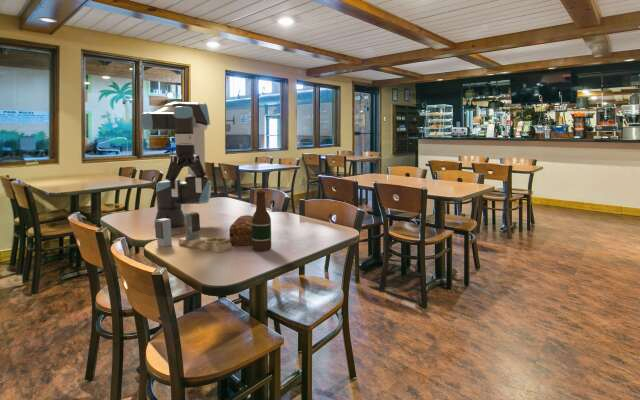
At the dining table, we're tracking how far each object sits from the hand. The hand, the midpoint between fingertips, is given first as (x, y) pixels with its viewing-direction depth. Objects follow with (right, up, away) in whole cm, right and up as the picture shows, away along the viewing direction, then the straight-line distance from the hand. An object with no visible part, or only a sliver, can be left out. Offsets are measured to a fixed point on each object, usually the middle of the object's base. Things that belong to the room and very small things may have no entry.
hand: (187, 194), depth 171 cm
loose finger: (-9, -21, -2) cm, 23 cm away
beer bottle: (+33, -23, -7) cm, 41 cm away
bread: (+24, -20, +6) cm, 32 cm away
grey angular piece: (+9, -22, -4) cm, 24 cm away
